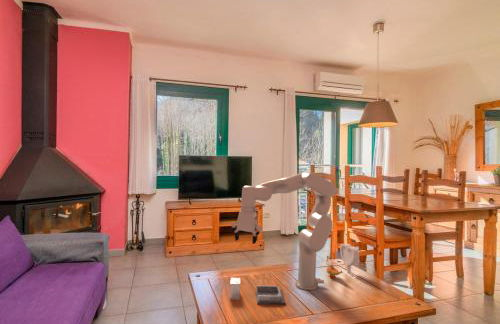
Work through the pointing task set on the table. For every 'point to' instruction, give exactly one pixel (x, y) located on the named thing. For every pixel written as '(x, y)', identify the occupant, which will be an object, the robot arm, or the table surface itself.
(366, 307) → the table surface
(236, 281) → the block
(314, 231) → the robot arm
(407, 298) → the table surface
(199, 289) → the table surface
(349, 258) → the heart sculpture
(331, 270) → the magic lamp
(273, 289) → the grey square tray
